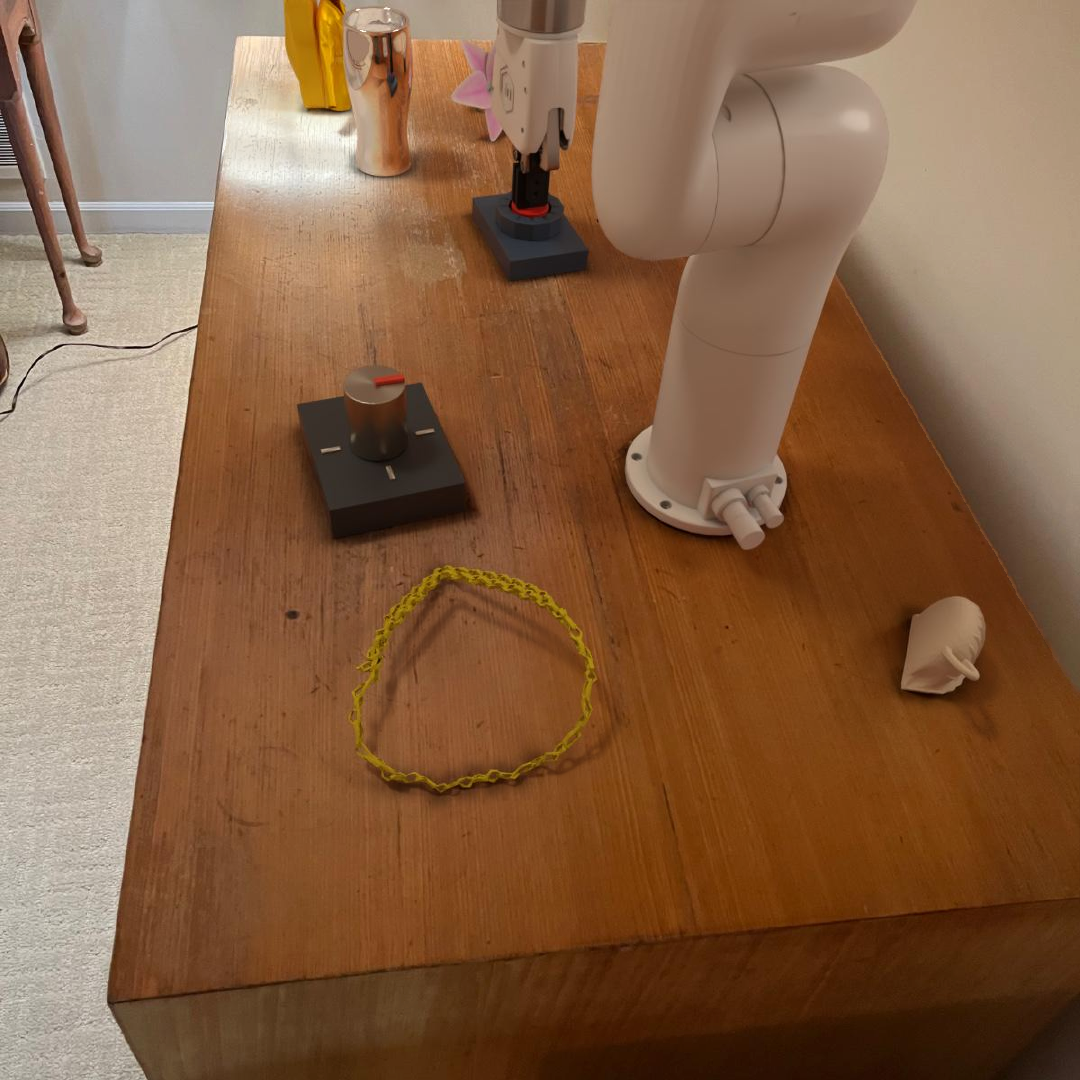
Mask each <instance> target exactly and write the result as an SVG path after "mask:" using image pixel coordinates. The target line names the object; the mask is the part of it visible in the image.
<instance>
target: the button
mask: <svg viewBox="0 0 1080 1080" xmlns="http://www.w3.org/2000/svg"><path fill="white" fill-rule="evenodd" d="M548 209H549V205H548V203H547V205H546V206H541V207H534V208H526V209H518V208H517V207H516V205H515V203H514V202H512V209H511V212H513V213H515V214H517V215H519V216H521V217H528V218H536V217H543V216H545V215H547V214H548Z"/></svg>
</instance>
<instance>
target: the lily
mask: <svg viewBox="0 0 1080 1080" xmlns="http://www.w3.org/2000/svg"><path fill="white" fill-rule="evenodd" d="M459 40H460V41H459V43H460V46H461V48H462V52H463V54H464V56H465V58H466V61H467V63H468V65H469V67H470V69H471V73H470V74H469V75H468V76H467V77H466V78H465V79H464V80H463V81H462V82H461V83H460V84H459V85H458V86H457V87H456V88H455V89H454V90H453V92H452V94H451V96H450V100H452V102H454V103H457V104H459V105H464V106H468V107H472V108H475V109H474V110H475V111H476V112H478V110H479V109H483V110H484V115H485V121H486V127H487V130H488V135H489V140H490V141H491V142H492V143H493V142H495V141H496V140H497V139H498V137H499V136H500V134H501V133H502V131H503V129H502V127H501V126H500V124H499V123H498V121H497V120H496V118H495V116H494V114H493V112H492V108H491V96H492V81H493V67H494V54H495V43H496V39H495V40H494V41H493V43H492V45H491V47H490V50H489V51H486V50H485V49H483V48H482V47H480V46H478V45H477V44H475V43H473V42H470V41H468V40H465V39H459Z"/></svg>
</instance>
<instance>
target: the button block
mask: <svg viewBox="0 0 1080 1080" xmlns="http://www.w3.org/2000/svg"><path fill="white" fill-rule="evenodd" d="M511 196H512V190H511V191H509V192H505V193H498V194H492V195H484V196H483V195H482V196H475V197H472V198H471V199H472V200H471V201H472V203H471V213H472V214H471V217H472V218H471V219H472V220H473V221H474V223H475V224H476V226H477V228H478V230H479V231H480V233H481V235H482V237H483V239H484V240H485V242H486V243H487V245H488V247H489V248H490V250H491V252H492V254H493V255H494V257H495V259H496V260H497V262H498V264H499V265H500V268H501V269H502V271H503V272H504V274H505V275H506V278H507V279H508V281H509V282H512V281H519V280H526V279H532V278H539V277H545V276H552V275H560V274H565V273H572V272H579V271H586V270H588V262H589V252H590V249H589V248H588V246H587V245H586V243H585V242H584V240H583V239H582V238H581V236H580V235H579V234H578V232H577V231H576V229H575V228H574V226H573V225H572V224H571V222H570V221H569V219H568V218H567V216H566V215H565V206H564V204H563V203H562V202H561V200H560V199H559V198H558V197H557V196H555V195H552V194H551V193H550V192H549V193H548V205H549V209H548V214H547V215H545V216H543V217H536V218H528V217H521V216H519V215H517V214H515V213H513V212H511V209H512V202H513V201H512V199H511Z"/></svg>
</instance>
